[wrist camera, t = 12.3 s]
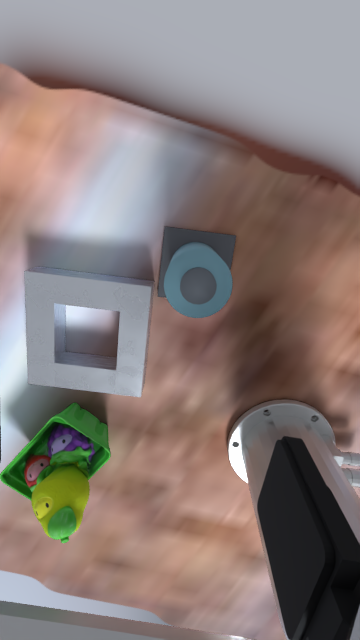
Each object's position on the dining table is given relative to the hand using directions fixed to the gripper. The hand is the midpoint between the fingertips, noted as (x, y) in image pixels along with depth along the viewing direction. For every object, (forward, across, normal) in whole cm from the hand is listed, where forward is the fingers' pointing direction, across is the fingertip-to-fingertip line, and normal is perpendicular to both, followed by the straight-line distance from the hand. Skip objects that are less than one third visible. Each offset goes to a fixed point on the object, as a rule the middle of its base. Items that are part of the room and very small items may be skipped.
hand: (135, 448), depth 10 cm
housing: (+23, +8, +5) cm, 25 cm away
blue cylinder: (+23, -2, -3) cm, 23 cm away
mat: (+23, -2, -3) cm, 23 cm away
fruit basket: (+24, +9, +20) cm, 32 cm away
